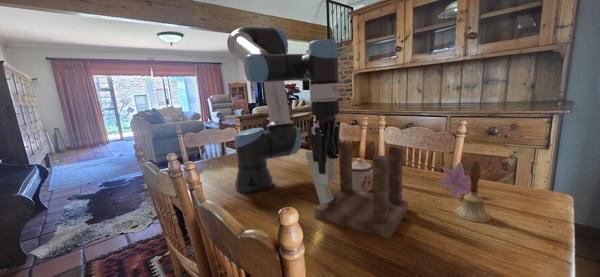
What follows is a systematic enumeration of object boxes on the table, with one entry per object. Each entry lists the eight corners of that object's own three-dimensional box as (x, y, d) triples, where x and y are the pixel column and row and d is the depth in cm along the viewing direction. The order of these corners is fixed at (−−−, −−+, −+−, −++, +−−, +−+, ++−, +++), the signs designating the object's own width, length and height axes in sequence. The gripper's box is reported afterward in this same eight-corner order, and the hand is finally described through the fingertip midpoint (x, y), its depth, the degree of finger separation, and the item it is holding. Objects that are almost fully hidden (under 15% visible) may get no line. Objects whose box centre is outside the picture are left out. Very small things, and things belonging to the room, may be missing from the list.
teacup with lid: (365, 195, 88) (365, 163, 86) (342, 190, 94) (341, 160, 92) (379, 184, 97) (379, 155, 95) (357, 180, 103) (356, 152, 101)
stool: (314, 217, 75) (311, 152, 72) (342, 195, 90) (340, 140, 86) (389, 239, 63) (389, 161, 59) (407, 209, 77) (408, 145, 73)
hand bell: (491, 225, 66) (497, 166, 63) (454, 218, 70) (457, 163, 67) (489, 211, 73) (493, 158, 70) (455, 206, 77) (458, 155, 74)
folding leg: (320, 203, 75) (305, 154, 74) (325, 199, 77) (311, 151, 77) (328, 202, 73) (313, 152, 72) (333, 199, 75) (319, 150, 75)
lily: (430, 198, 85) (444, 179, 79) (429, 175, 94) (441, 156, 88) (469, 211, 83) (485, 193, 77) (464, 186, 91) (478, 167, 85)
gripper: (321, 102, 60) (324, 194, 65) (350, 98, 73) (351, 175, 77) (296, 102, 65) (300, 188, 69) (327, 98, 77) (330, 171, 82)
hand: (327, 181), depth 73 cm, fingers closed on folding leg, 3 cm apart
